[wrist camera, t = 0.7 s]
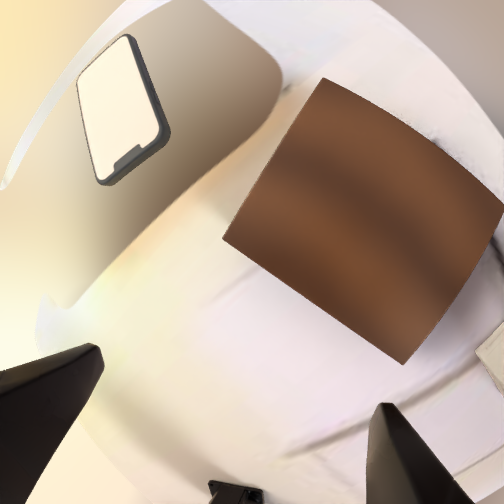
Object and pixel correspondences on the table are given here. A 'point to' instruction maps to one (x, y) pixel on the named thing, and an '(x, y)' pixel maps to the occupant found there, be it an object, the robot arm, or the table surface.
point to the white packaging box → (494, 356)
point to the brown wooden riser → (366, 220)
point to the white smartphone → (120, 111)
